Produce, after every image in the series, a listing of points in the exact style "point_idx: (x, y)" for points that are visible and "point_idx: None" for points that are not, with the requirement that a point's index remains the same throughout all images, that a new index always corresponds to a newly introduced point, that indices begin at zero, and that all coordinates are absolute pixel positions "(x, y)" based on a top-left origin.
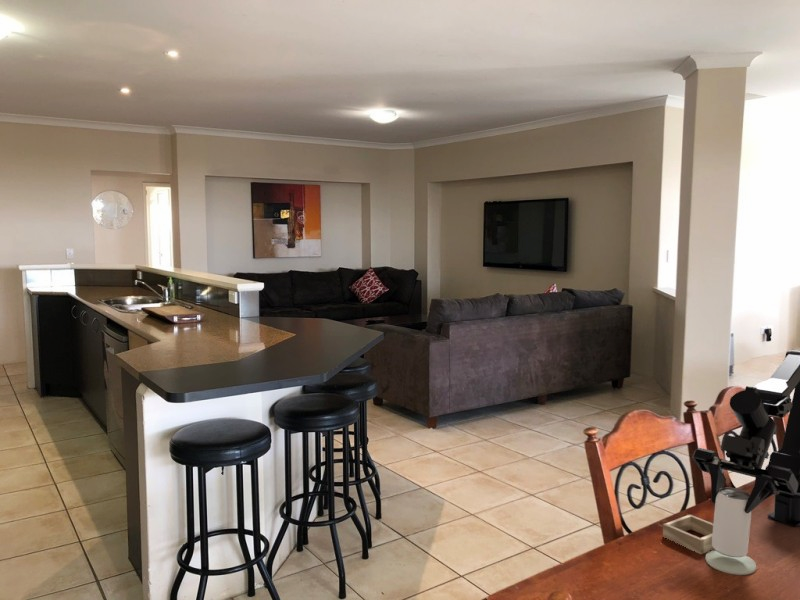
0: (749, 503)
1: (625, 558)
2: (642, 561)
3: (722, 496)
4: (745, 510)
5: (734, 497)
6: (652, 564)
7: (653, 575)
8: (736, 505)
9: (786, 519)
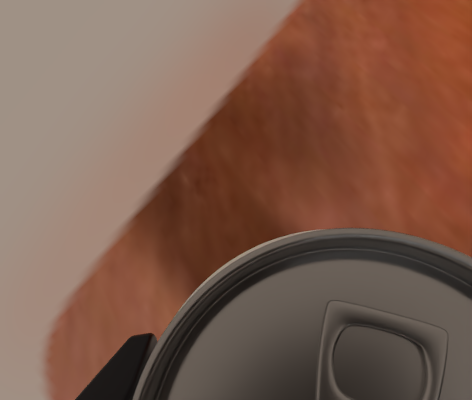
0: (91, 396)
1: None
2: (461, 103)
3: (404, 250)
4: (142, 334)
5: (285, 348)
6: (429, 114)
7: (370, 67)
8: (212, 276)
9: None
